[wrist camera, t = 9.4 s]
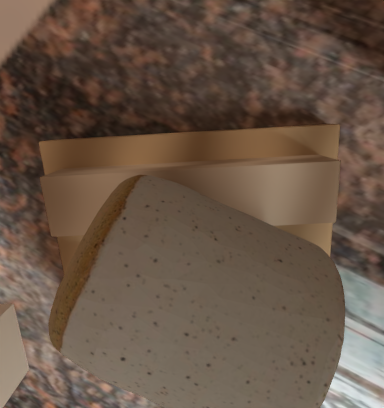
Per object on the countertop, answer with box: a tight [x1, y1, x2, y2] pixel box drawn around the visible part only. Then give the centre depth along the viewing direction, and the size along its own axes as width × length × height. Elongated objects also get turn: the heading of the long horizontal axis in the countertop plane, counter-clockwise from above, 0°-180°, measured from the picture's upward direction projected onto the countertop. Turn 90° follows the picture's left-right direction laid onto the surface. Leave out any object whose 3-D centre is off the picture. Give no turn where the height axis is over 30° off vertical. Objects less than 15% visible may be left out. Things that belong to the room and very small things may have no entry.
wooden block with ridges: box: [39, 124, 341, 275], centre depth 17 cm, size 16×12×4 cm
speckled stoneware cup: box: [48, 175, 345, 408], centre depth 12 cm, size 11×8×8 cm
